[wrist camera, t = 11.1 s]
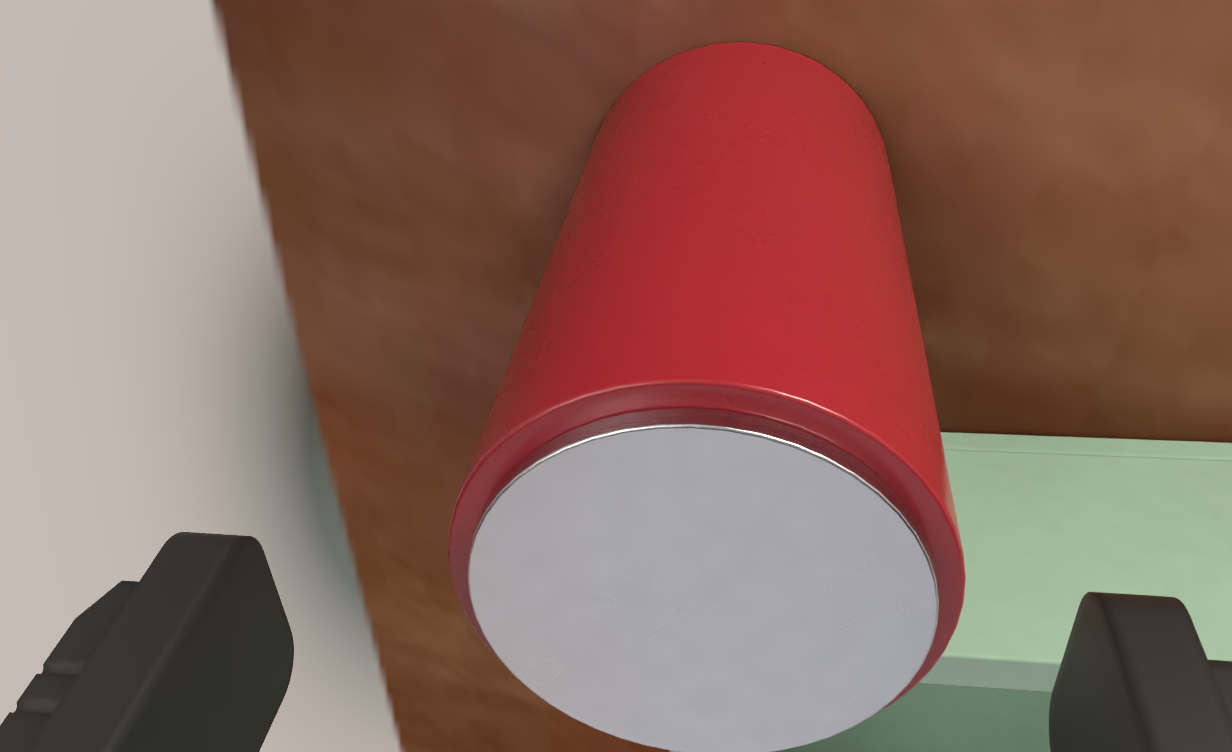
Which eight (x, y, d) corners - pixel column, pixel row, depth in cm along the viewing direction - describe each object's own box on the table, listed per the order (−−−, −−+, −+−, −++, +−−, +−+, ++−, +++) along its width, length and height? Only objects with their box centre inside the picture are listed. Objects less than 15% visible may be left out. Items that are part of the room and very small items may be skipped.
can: (577, 43, 18) (397, 390, 10) (903, 38, 18) (1010, 409, 9) (598, 314, 22) (476, 752, 13) (875, 320, 21) (937, 790, 12)
